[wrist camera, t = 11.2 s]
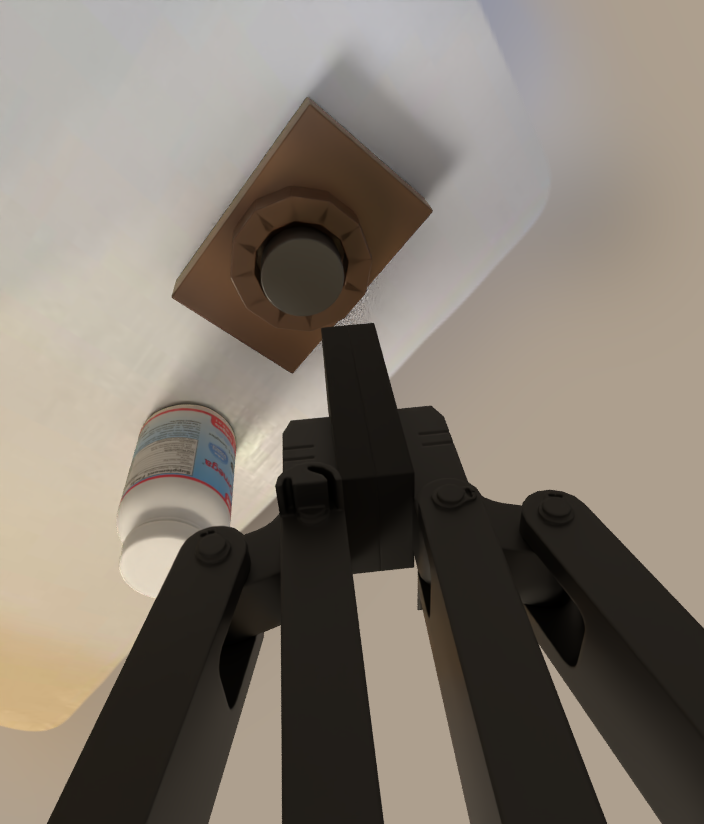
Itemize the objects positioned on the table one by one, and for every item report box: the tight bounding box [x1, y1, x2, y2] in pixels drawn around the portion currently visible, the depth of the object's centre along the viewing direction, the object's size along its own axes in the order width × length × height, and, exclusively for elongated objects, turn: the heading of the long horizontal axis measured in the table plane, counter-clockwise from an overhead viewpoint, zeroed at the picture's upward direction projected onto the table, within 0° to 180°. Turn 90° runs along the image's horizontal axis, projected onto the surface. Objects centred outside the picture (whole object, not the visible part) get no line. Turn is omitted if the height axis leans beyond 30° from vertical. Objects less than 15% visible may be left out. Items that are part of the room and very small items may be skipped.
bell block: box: [172, 97, 433, 373], centre depth 33 cm, size 12×8×4 cm, turn 140°
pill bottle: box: [116, 404, 236, 598], centre depth 37 cm, size 6×6×11 cm
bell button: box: [261, 226, 344, 316], centre depth 31 cm, size 4×4×2 cm
